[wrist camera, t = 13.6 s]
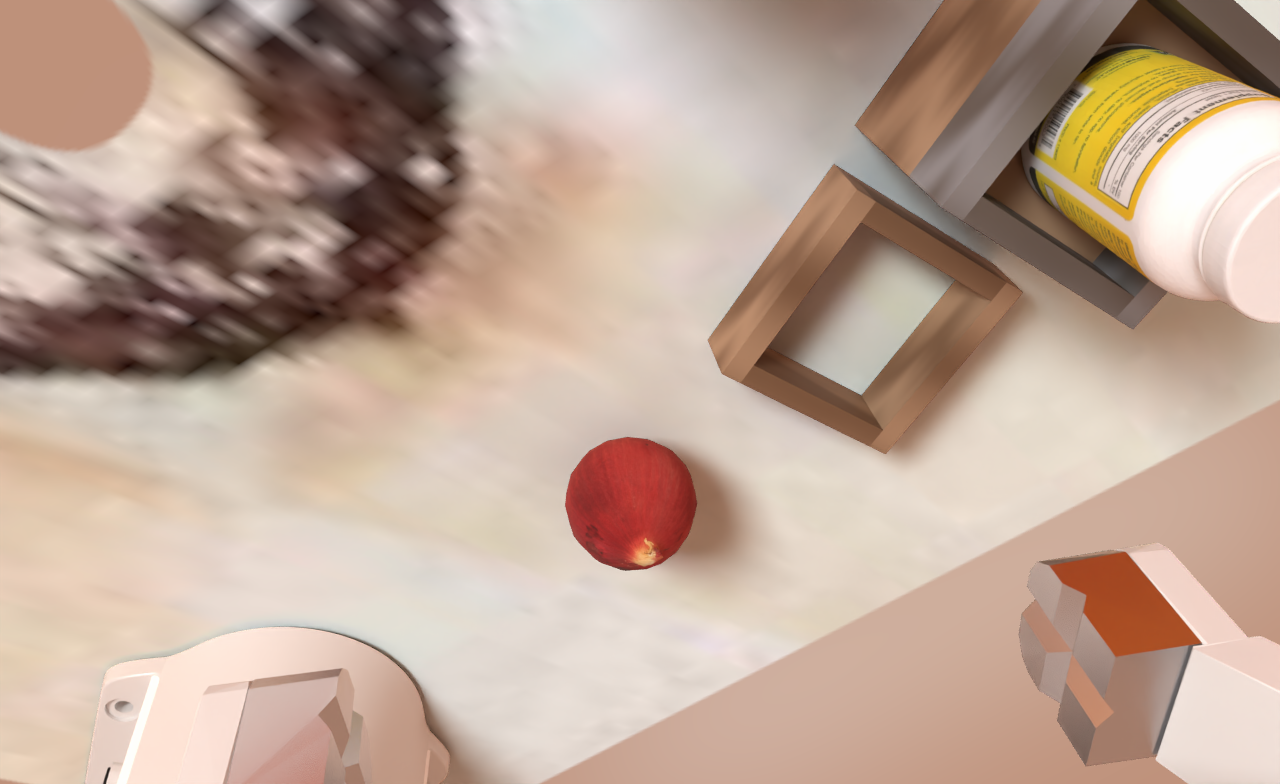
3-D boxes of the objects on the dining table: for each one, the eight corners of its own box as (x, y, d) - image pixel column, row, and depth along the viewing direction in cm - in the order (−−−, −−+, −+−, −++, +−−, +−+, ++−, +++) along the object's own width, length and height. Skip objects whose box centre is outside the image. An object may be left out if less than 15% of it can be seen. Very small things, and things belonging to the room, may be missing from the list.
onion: (638, 518, 51) (664, 633, 44) (537, 477, 49) (549, 592, 42) (701, 431, 49) (740, 539, 42) (599, 385, 47) (622, 491, 40)
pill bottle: (1174, 181, 38) (1399, 316, 29) (1017, 225, 39) (1192, 374, 29) (1185, 15, 35) (1444, 110, 26) (1012, 64, 35) (1209, 176, 26)
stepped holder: (868, 420, 50) (940, 539, 42) (703, 337, 46) (750, 452, 39) (1186, 36, 42) (1345, 98, 34) (1018, -105, 38) (1156, -69, 30)
